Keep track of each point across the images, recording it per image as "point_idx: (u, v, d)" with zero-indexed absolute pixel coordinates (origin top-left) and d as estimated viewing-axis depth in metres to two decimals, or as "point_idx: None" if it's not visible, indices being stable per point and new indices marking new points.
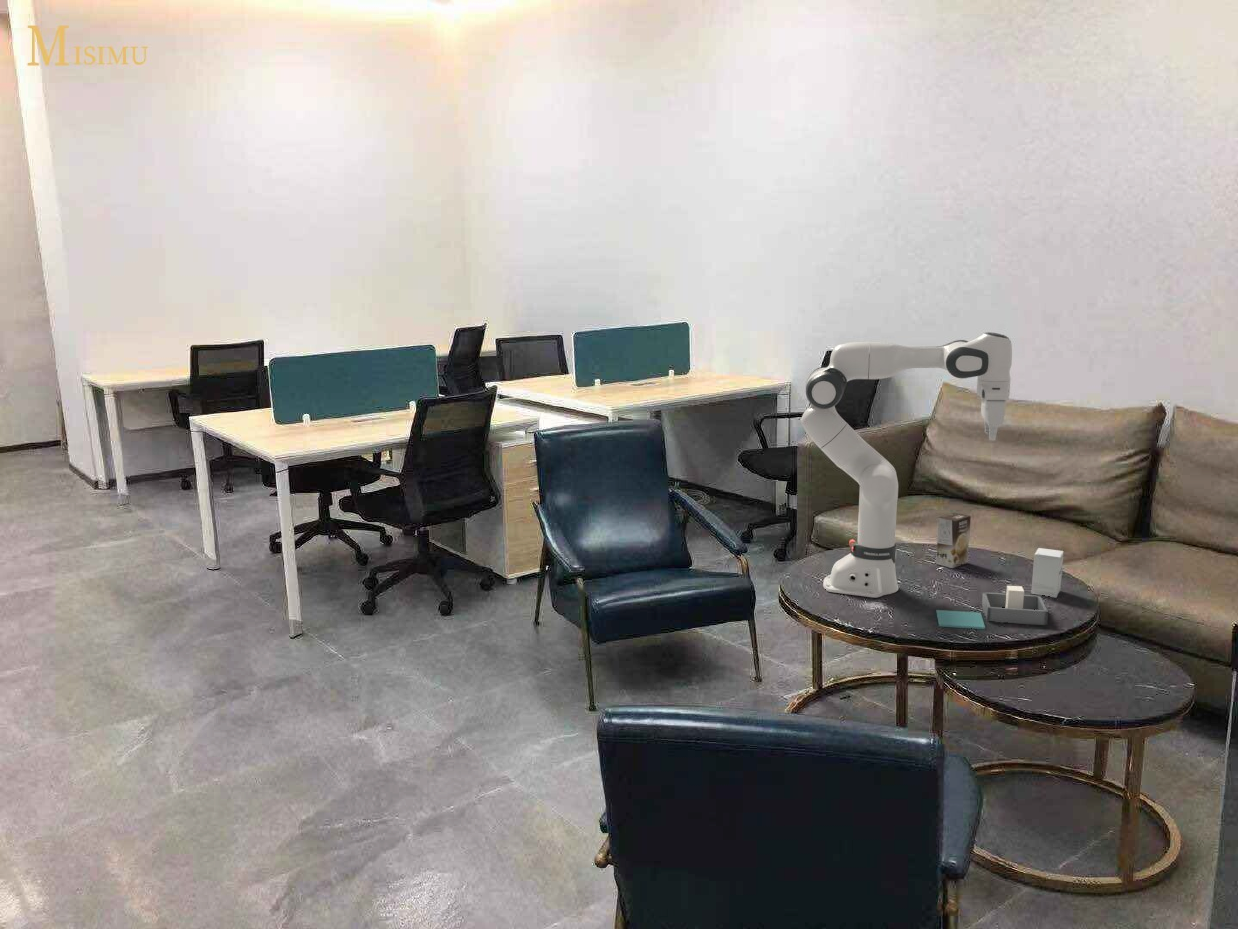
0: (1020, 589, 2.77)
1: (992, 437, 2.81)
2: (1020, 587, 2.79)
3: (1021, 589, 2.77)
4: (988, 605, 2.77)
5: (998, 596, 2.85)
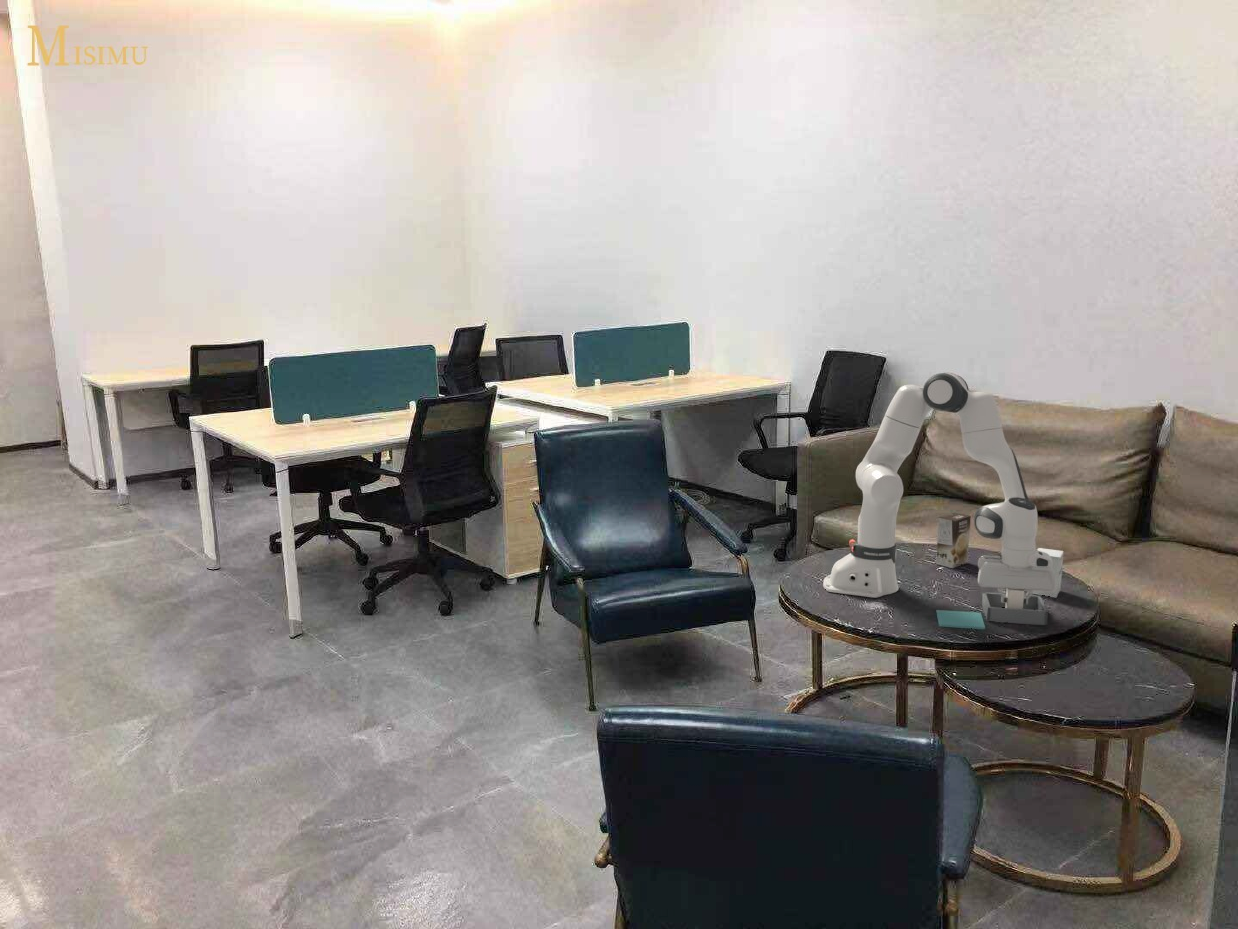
0: (1020, 589, 2.77)
1: (1027, 600, 2.78)
2: None
3: (1021, 589, 2.77)
4: (988, 605, 2.77)
5: (998, 596, 2.85)
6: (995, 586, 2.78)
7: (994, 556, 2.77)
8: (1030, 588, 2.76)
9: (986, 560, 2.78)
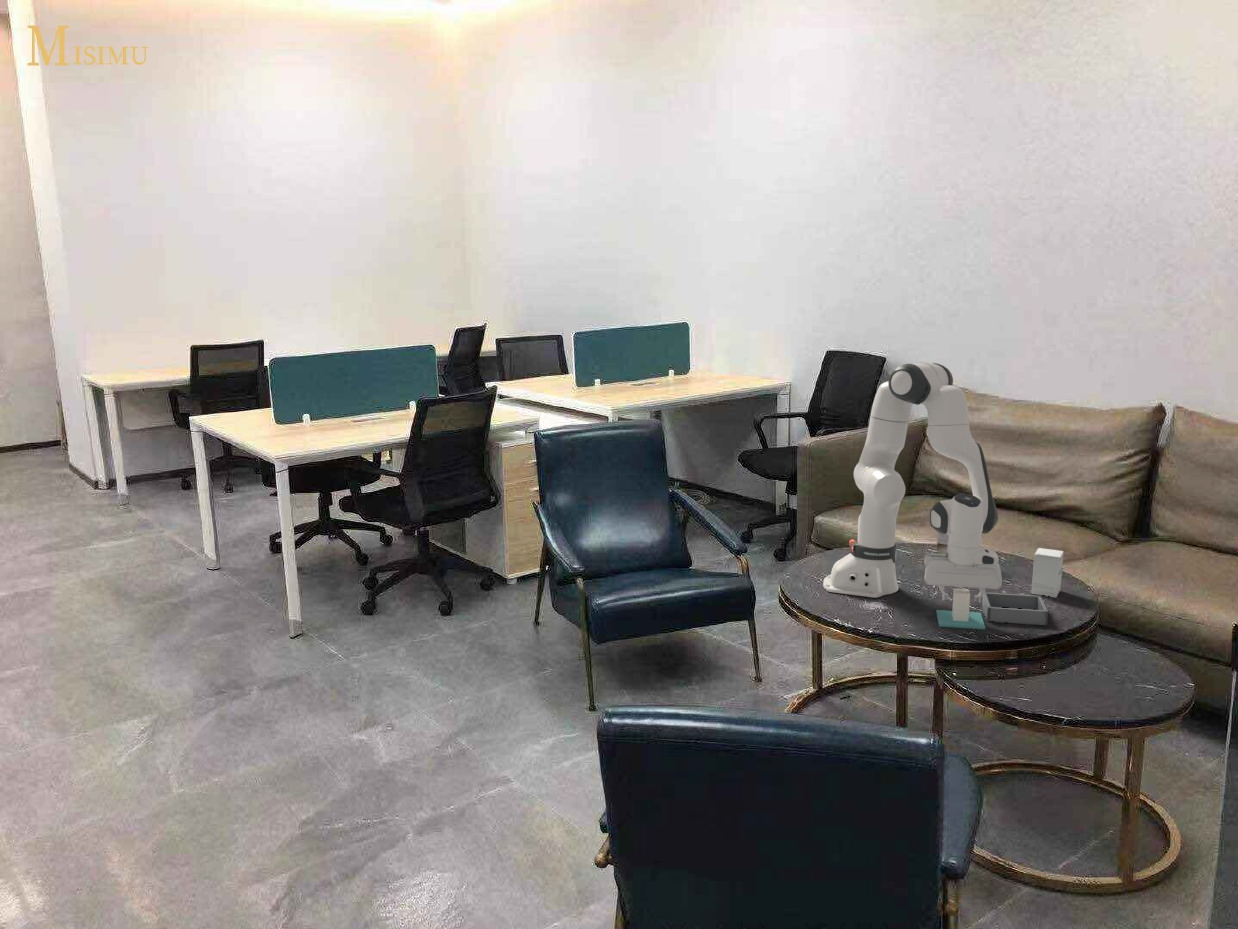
0: (966, 592, 2.74)
1: None
2: (967, 590, 2.76)
3: (967, 592, 2.74)
4: (988, 605, 2.77)
5: (998, 596, 2.85)
6: (941, 584, 2.74)
7: (940, 554, 2.74)
8: (976, 586, 2.72)
9: (932, 558, 2.74)
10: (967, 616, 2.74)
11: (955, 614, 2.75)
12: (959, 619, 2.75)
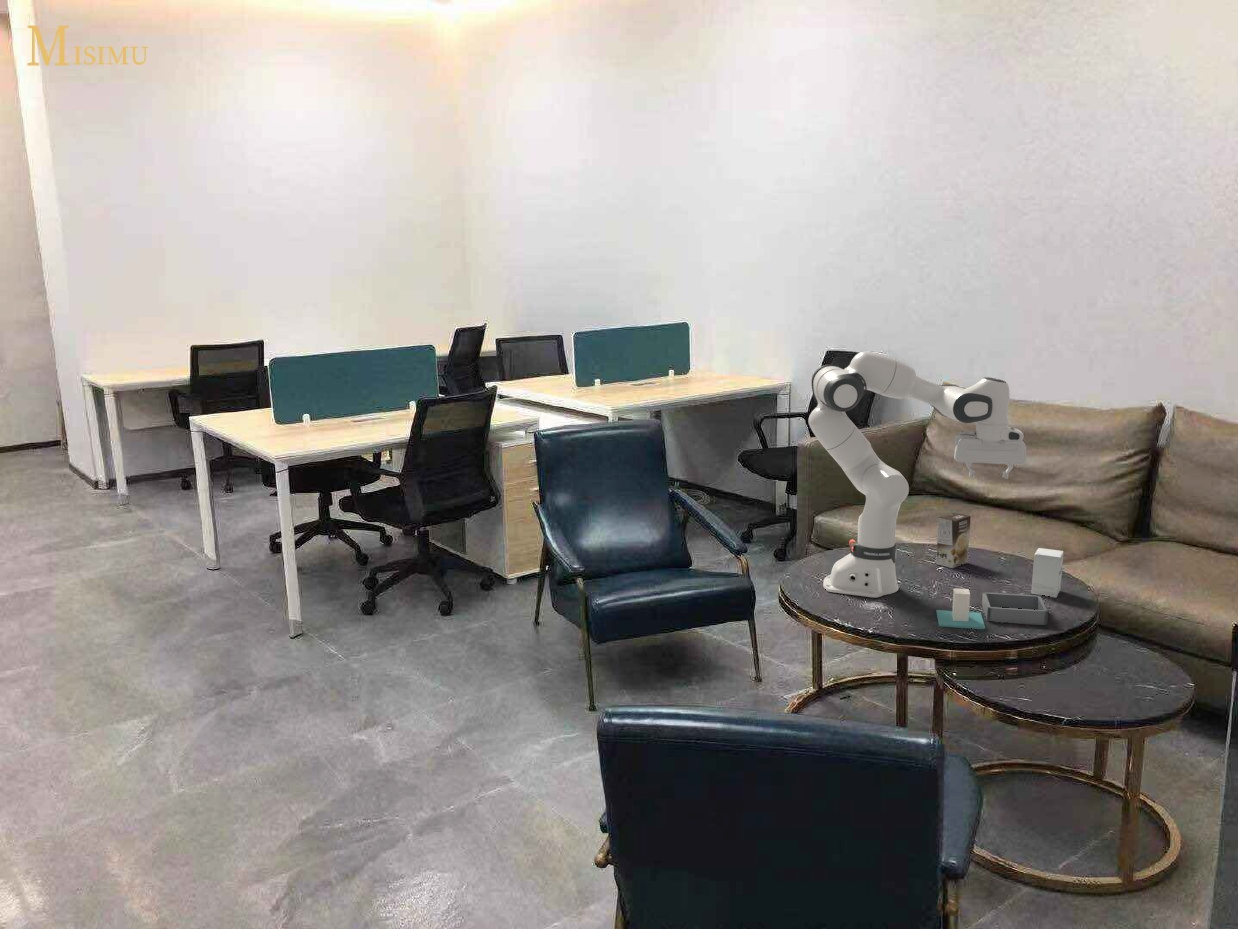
0: (966, 592, 2.74)
1: (1008, 474, 2.95)
2: (967, 590, 2.76)
3: (967, 592, 2.74)
4: (988, 605, 2.77)
5: (998, 596, 2.85)
6: (970, 461, 2.95)
7: (969, 432, 2.95)
8: (1003, 462, 2.93)
9: (962, 436, 2.95)
10: (967, 616, 2.74)
11: (955, 614, 2.75)
12: (959, 619, 2.75)
